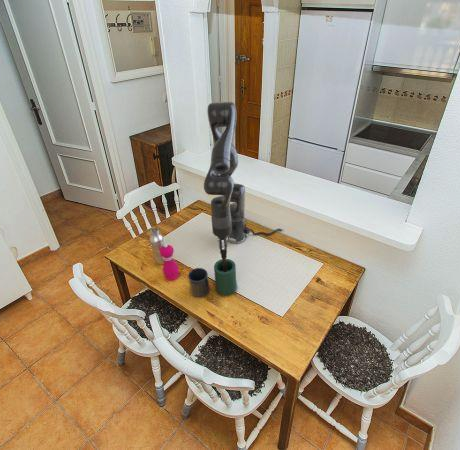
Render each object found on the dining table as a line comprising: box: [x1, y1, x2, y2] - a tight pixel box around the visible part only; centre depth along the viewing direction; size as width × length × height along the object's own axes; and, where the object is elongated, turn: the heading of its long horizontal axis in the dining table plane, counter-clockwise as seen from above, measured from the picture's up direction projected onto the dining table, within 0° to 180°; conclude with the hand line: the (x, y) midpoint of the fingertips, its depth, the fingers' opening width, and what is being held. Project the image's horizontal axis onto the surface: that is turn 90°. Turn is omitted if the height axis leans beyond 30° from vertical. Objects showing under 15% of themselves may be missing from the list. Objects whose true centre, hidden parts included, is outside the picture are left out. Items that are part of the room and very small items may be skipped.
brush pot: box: [187, 267, 210, 298], centre depth 141 cm, size 8×8×10 cm
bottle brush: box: [221, 258, 229, 272], centre depth 135 cm, size 4×4×22 cm
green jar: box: [213, 258, 237, 297], centre depth 140 cm, size 9×9×14 cm
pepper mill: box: [160, 243, 180, 282], centre depth 145 cm, size 7×7×20 cm
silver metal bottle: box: [148, 227, 165, 265], centre depth 153 cm, size 6×7×20 cm
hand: (223, 255), depth 132 cm, fingers closed on bottle brush
